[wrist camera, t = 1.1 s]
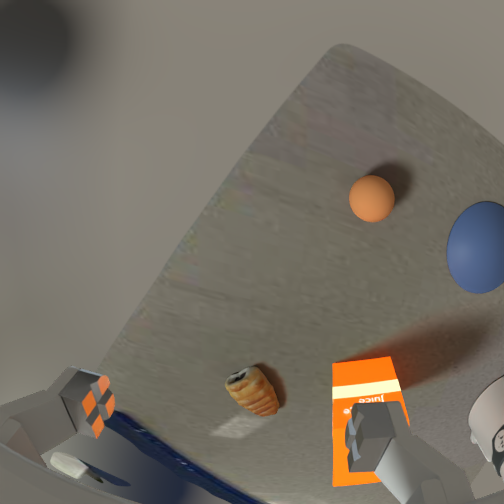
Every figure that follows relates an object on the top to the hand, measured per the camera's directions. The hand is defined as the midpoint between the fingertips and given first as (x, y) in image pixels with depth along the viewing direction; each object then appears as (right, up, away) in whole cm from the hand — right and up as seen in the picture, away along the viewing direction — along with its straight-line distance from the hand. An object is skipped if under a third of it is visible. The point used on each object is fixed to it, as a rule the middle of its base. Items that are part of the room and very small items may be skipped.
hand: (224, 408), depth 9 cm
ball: (+15, +11, +26) cm, 32 cm away
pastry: (+1, -16, +39) cm, 43 cm away
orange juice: (+18, -14, +35) cm, 42 cm away
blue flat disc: (+33, +5, +27) cm, 43 cm away
